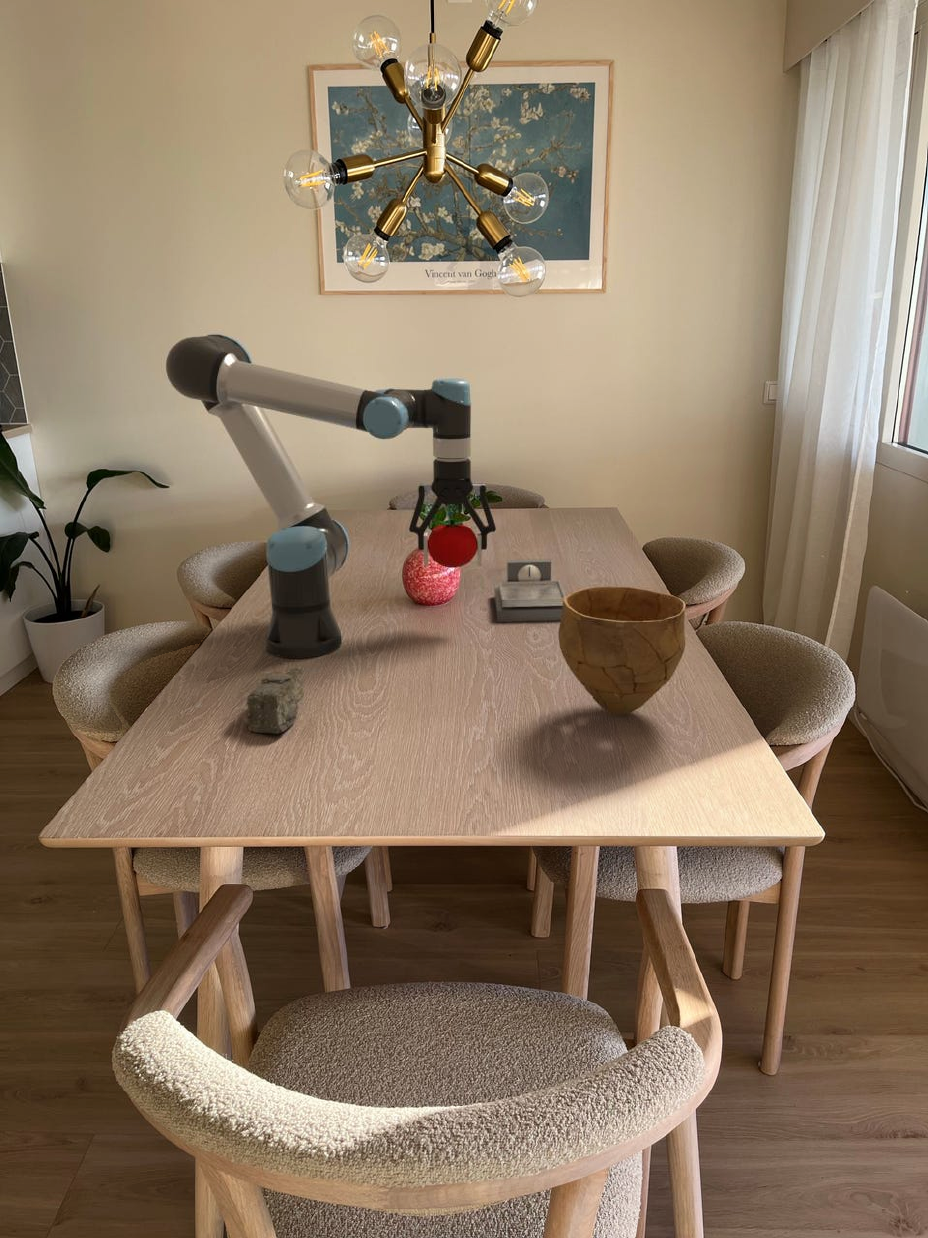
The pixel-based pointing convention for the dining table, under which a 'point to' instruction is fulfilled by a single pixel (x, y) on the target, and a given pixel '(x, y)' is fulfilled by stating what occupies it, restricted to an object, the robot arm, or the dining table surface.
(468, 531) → the tomato
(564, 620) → the bowl
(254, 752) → the dining table surface
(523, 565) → the scale body
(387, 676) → the dining table surface
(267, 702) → the rock
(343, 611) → the dining table surface
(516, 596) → the pan
